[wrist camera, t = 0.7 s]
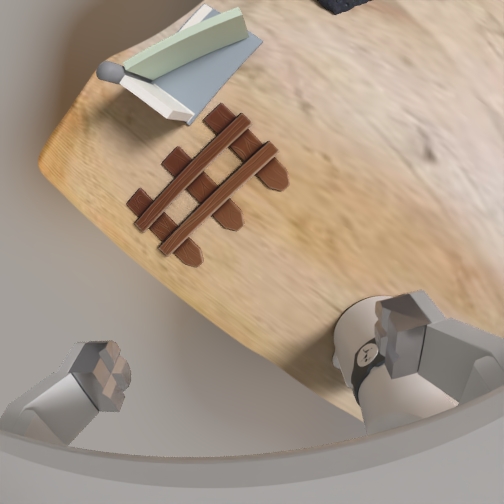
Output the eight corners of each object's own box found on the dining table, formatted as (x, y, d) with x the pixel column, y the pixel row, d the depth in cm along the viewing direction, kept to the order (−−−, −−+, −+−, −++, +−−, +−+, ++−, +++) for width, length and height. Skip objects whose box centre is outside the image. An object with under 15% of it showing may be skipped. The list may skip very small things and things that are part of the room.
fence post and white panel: (197, 111, 41) (170, 104, 30) (187, 125, 42) (157, 122, 31) (143, 72, 39) (104, 57, 28) (134, 85, 40) (92, 74, 29)
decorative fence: (125, 206, 48) (190, 272, 51) (120, 209, 46) (187, 277, 49) (227, 98, 41) (300, 174, 44) (225, 96, 39) (301, 175, 42)
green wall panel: (153, 80, 39) (125, 70, 30) (150, 73, 39) (122, 62, 30) (249, 37, 36) (242, 14, 28) (245, 30, 36) (238, 6, 27)
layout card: (263, 41, 37) (263, 40, 36) (190, 125, 42) (189, 125, 41) (204, 4, 35) (204, 3, 34) (136, 85, 40) (134, 84, 40)
